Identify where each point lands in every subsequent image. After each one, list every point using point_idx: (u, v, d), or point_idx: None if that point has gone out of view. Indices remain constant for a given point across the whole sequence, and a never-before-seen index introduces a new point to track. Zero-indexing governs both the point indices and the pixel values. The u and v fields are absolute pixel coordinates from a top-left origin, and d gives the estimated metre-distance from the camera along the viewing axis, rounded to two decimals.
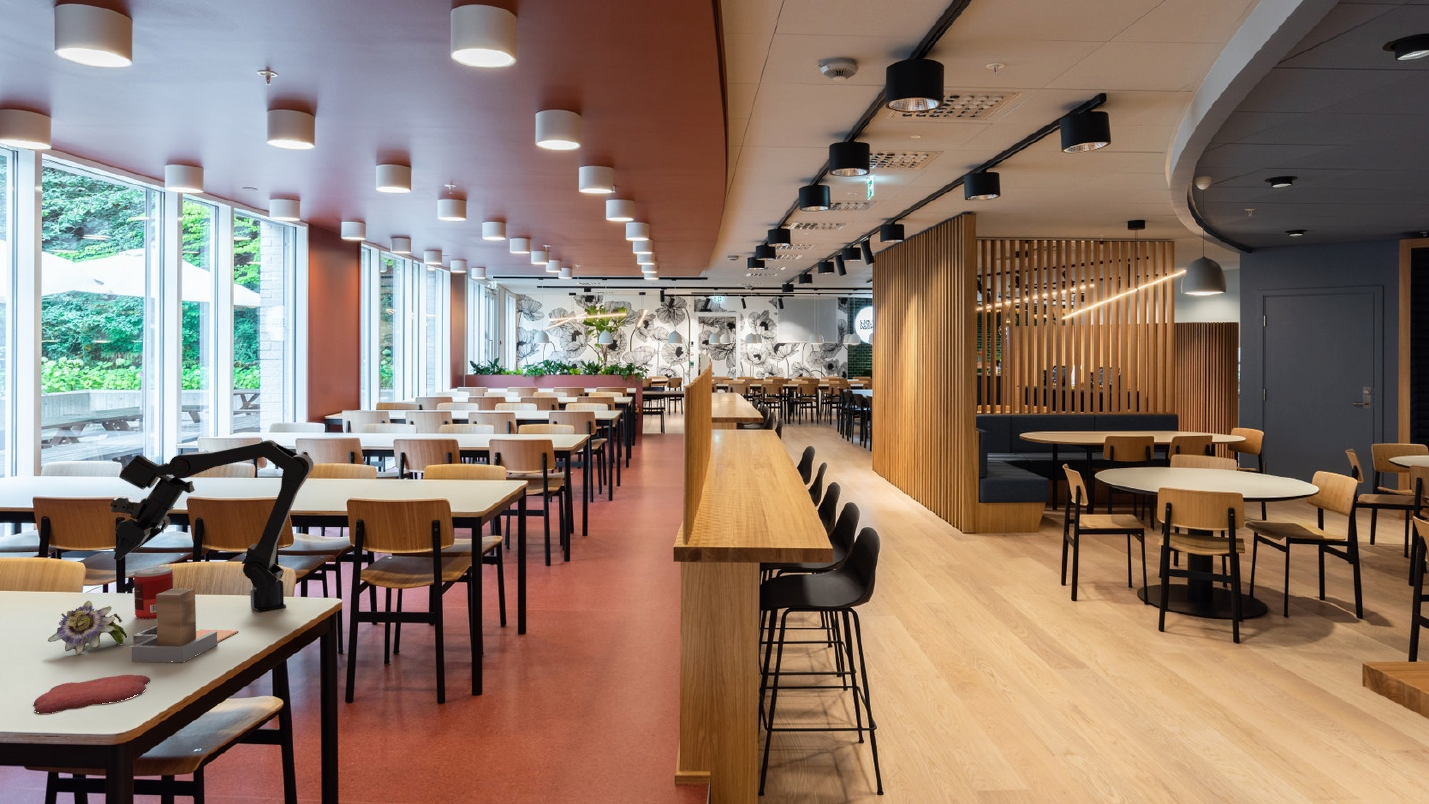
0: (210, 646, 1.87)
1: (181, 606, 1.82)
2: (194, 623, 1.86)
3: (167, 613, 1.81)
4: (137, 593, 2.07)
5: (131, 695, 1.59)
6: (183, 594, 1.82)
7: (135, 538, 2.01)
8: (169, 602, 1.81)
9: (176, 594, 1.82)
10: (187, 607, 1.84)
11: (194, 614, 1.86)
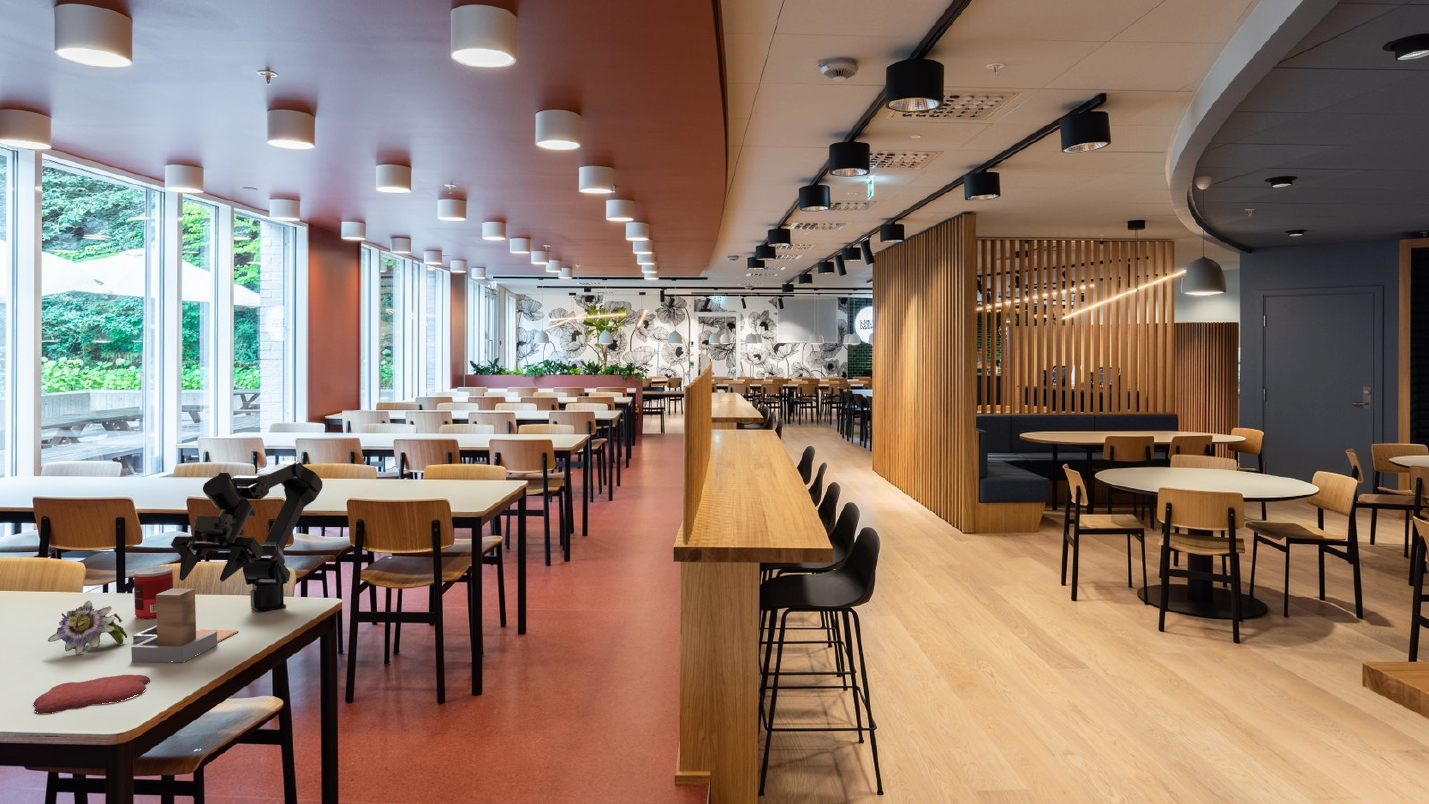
0: (210, 646, 1.87)
1: (181, 606, 1.82)
2: (194, 623, 1.86)
3: (167, 613, 1.81)
4: (137, 593, 2.07)
5: (131, 695, 1.59)
6: (183, 594, 1.82)
7: (259, 554, 1.98)
8: (169, 602, 1.81)
9: (176, 594, 1.82)
10: (187, 607, 1.84)
11: (194, 614, 1.86)
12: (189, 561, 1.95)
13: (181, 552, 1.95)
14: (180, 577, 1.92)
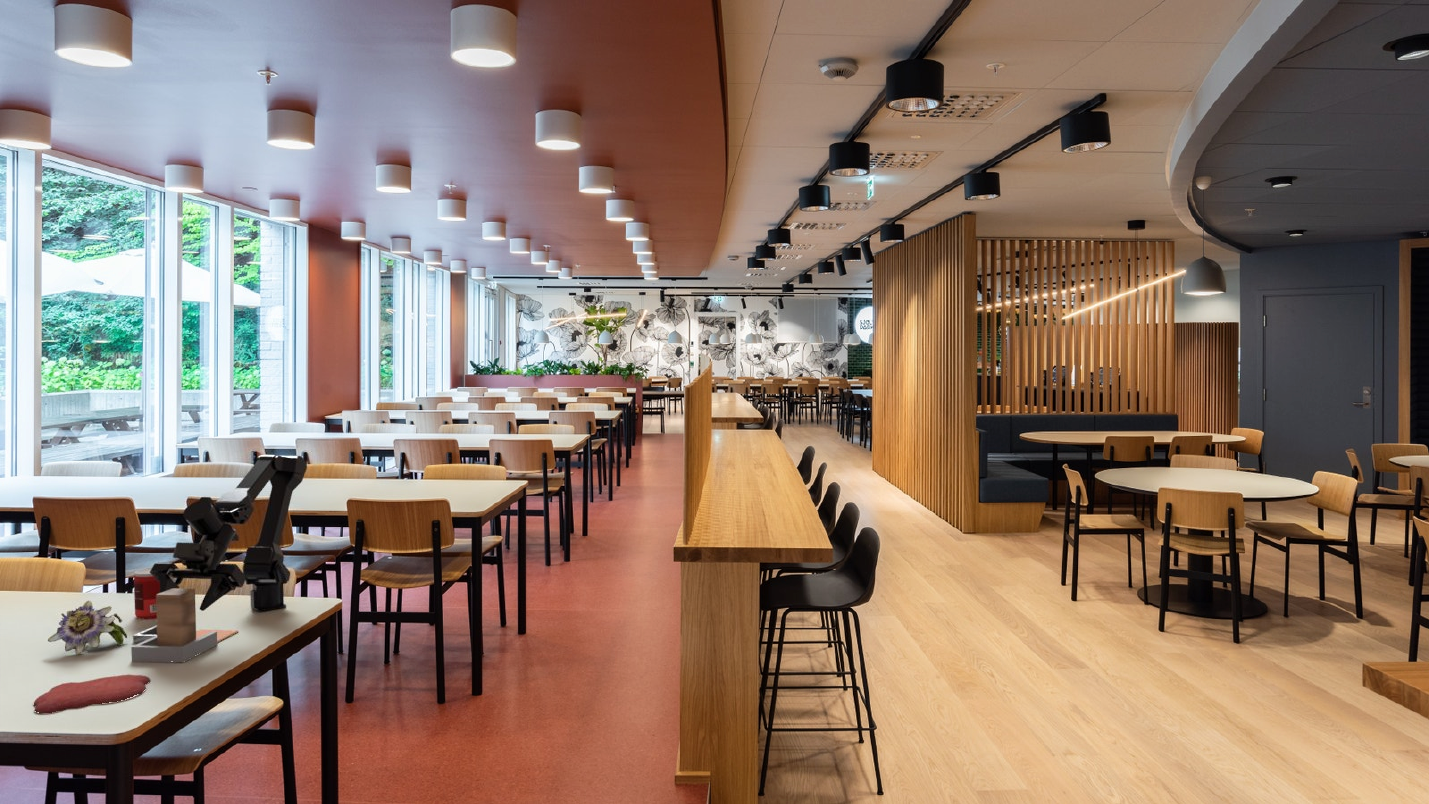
0: (210, 646, 1.87)
1: (181, 606, 1.82)
2: (194, 623, 1.86)
3: (167, 613, 1.81)
4: (137, 593, 2.07)
5: (131, 695, 1.59)
6: (183, 594, 1.82)
7: (241, 582, 1.91)
8: (169, 602, 1.81)
9: (176, 594, 1.82)
10: (187, 607, 1.84)
11: (194, 614, 1.86)
12: (169, 589, 1.89)
13: (160, 580, 1.88)
14: None
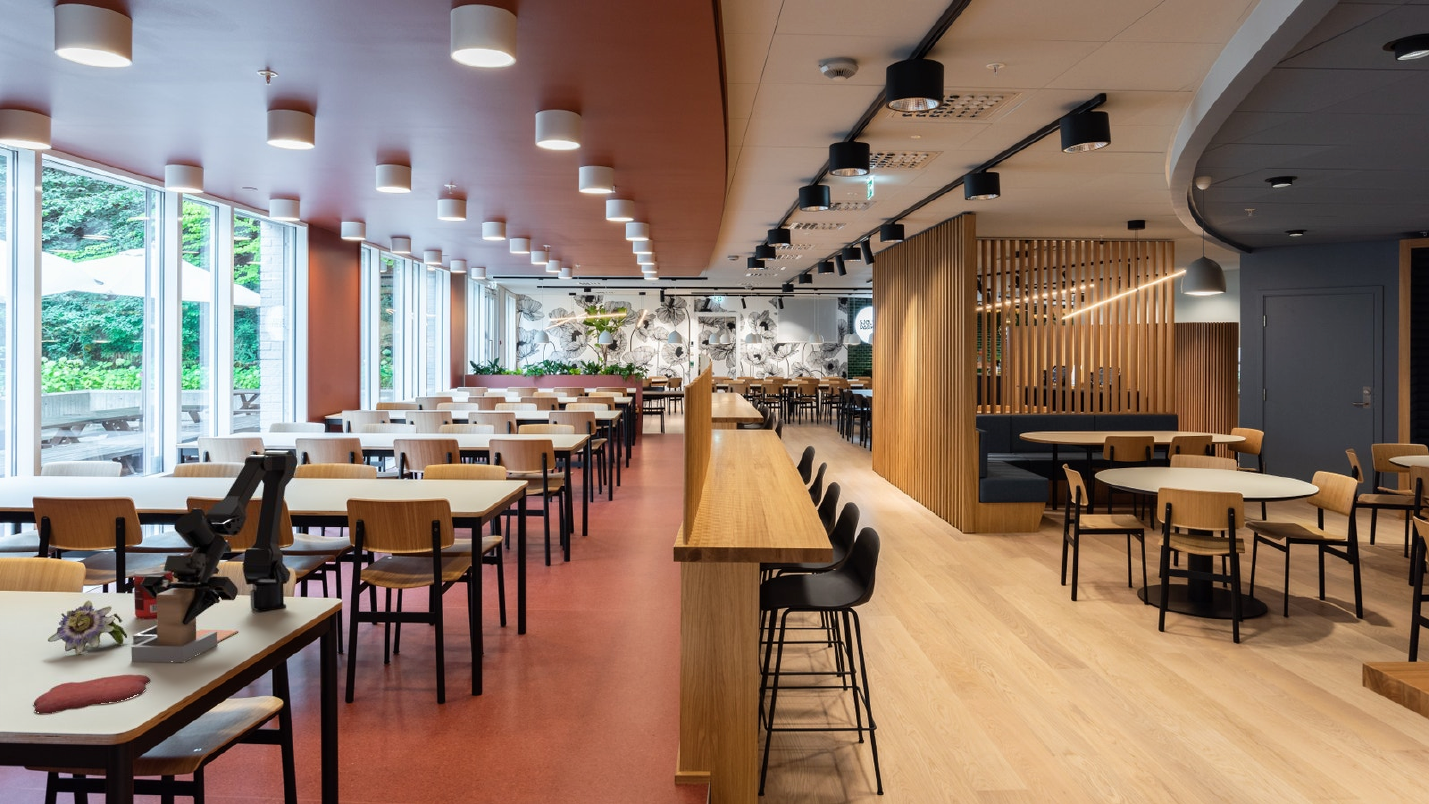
0: (210, 646, 1.87)
1: (181, 606, 1.82)
2: (194, 623, 1.86)
3: (167, 613, 1.81)
4: (137, 593, 2.07)
5: (131, 695, 1.59)
6: (183, 594, 1.82)
7: (234, 595, 1.88)
8: (169, 602, 1.81)
9: (176, 594, 1.82)
10: (187, 607, 1.84)
11: None
12: None
13: None
14: None
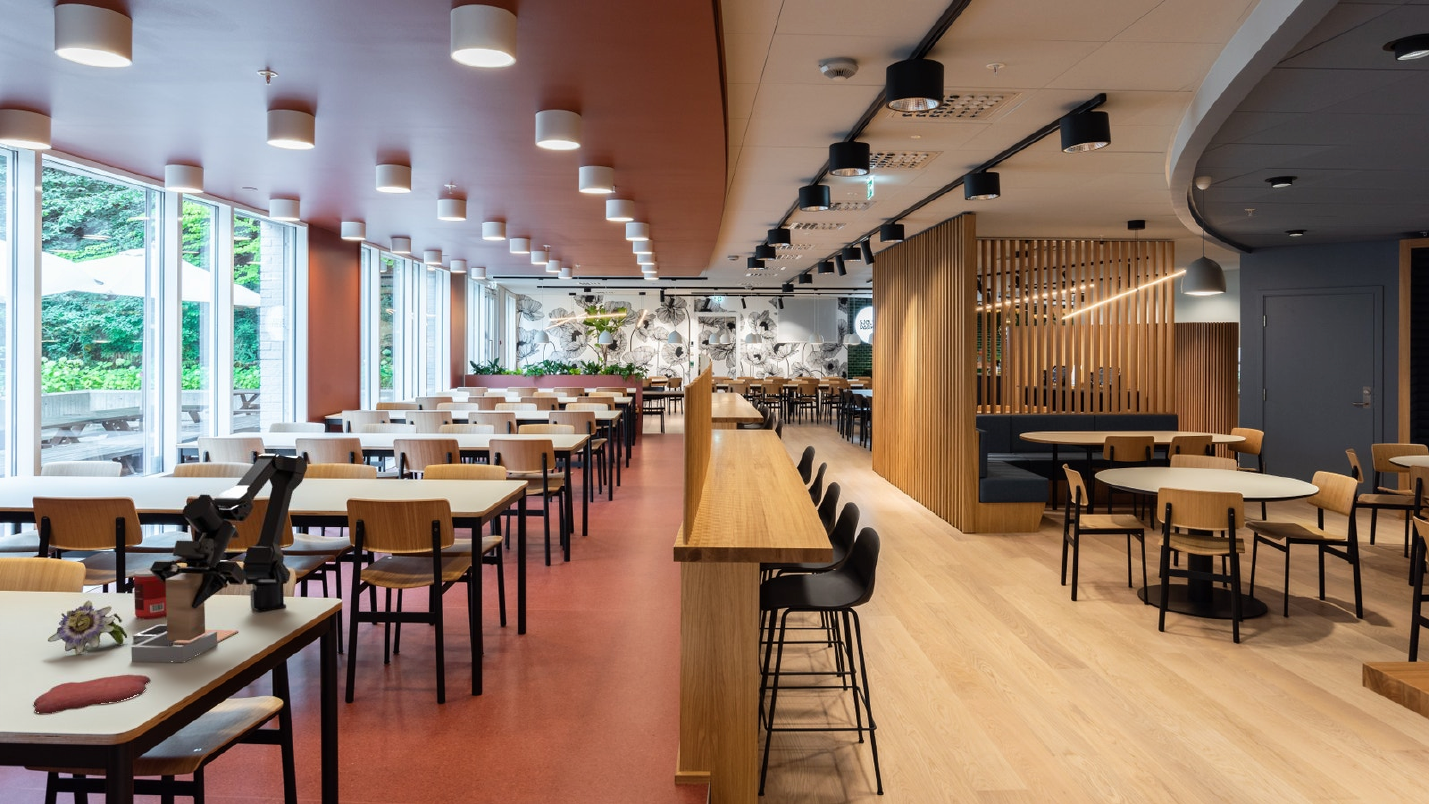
0: (210, 646, 1.87)
1: (190, 591, 1.84)
2: (203, 607, 1.89)
3: (176, 598, 1.84)
4: (137, 593, 2.07)
5: (131, 695, 1.59)
6: (192, 579, 1.85)
7: (242, 579, 1.91)
8: (178, 587, 1.84)
9: (185, 579, 1.84)
10: (196, 591, 1.86)
11: None
12: None
13: None
14: None
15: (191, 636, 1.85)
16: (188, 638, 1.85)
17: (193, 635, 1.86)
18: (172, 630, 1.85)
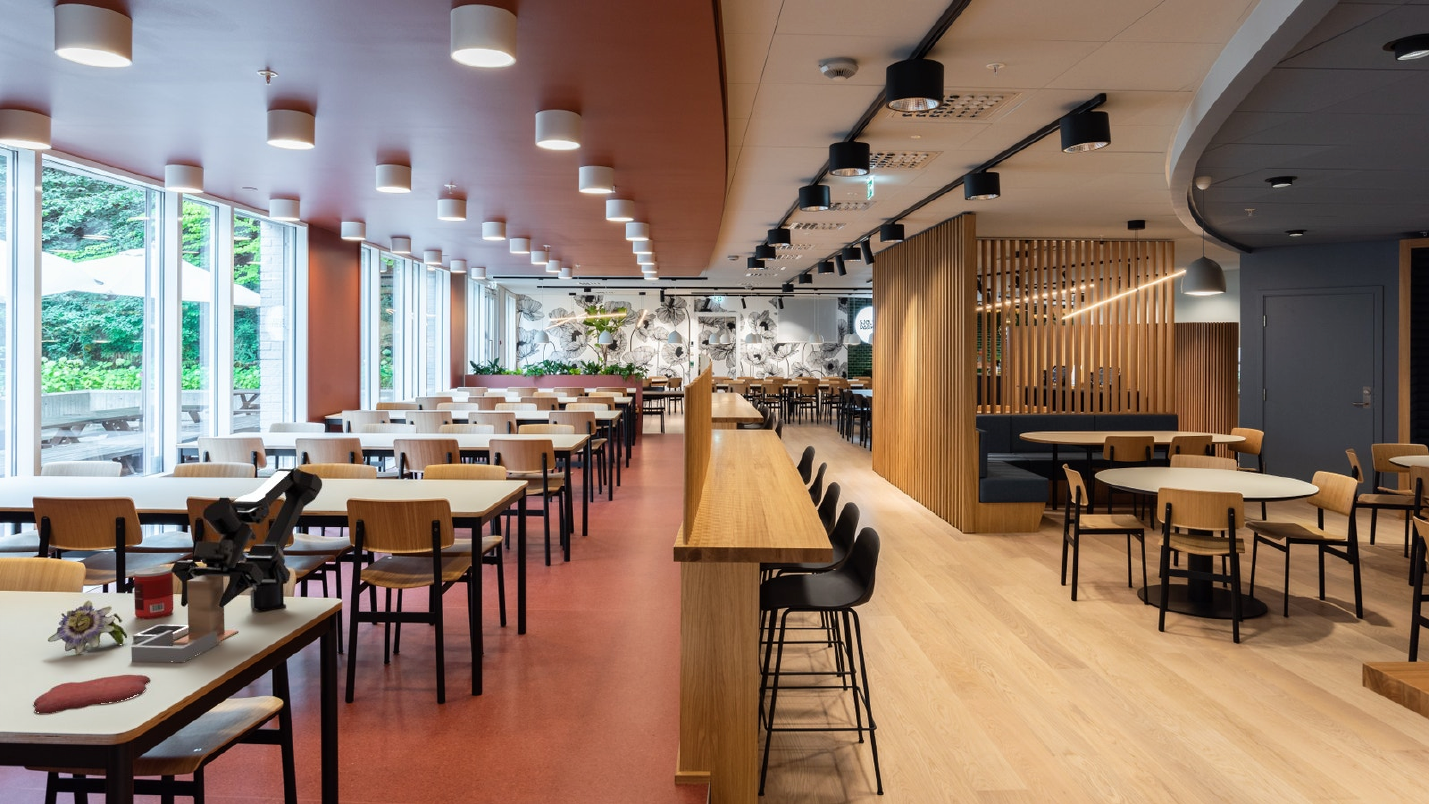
0: (210, 646, 1.87)
1: (211, 592, 1.91)
2: (222, 608, 1.95)
3: (197, 599, 1.91)
4: (137, 593, 2.07)
5: (131, 695, 1.59)
6: (212, 580, 1.92)
7: (260, 579, 1.98)
8: (199, 588, 1.91)
9: (206, 580, 1.91)
10: (216, 593, 1.93)
11: None
12: None
13: (182, 578, 1.95)
14: (182, 603, 1.92)
15: None
16: None
17: None
18: (193, 630, 1.91)
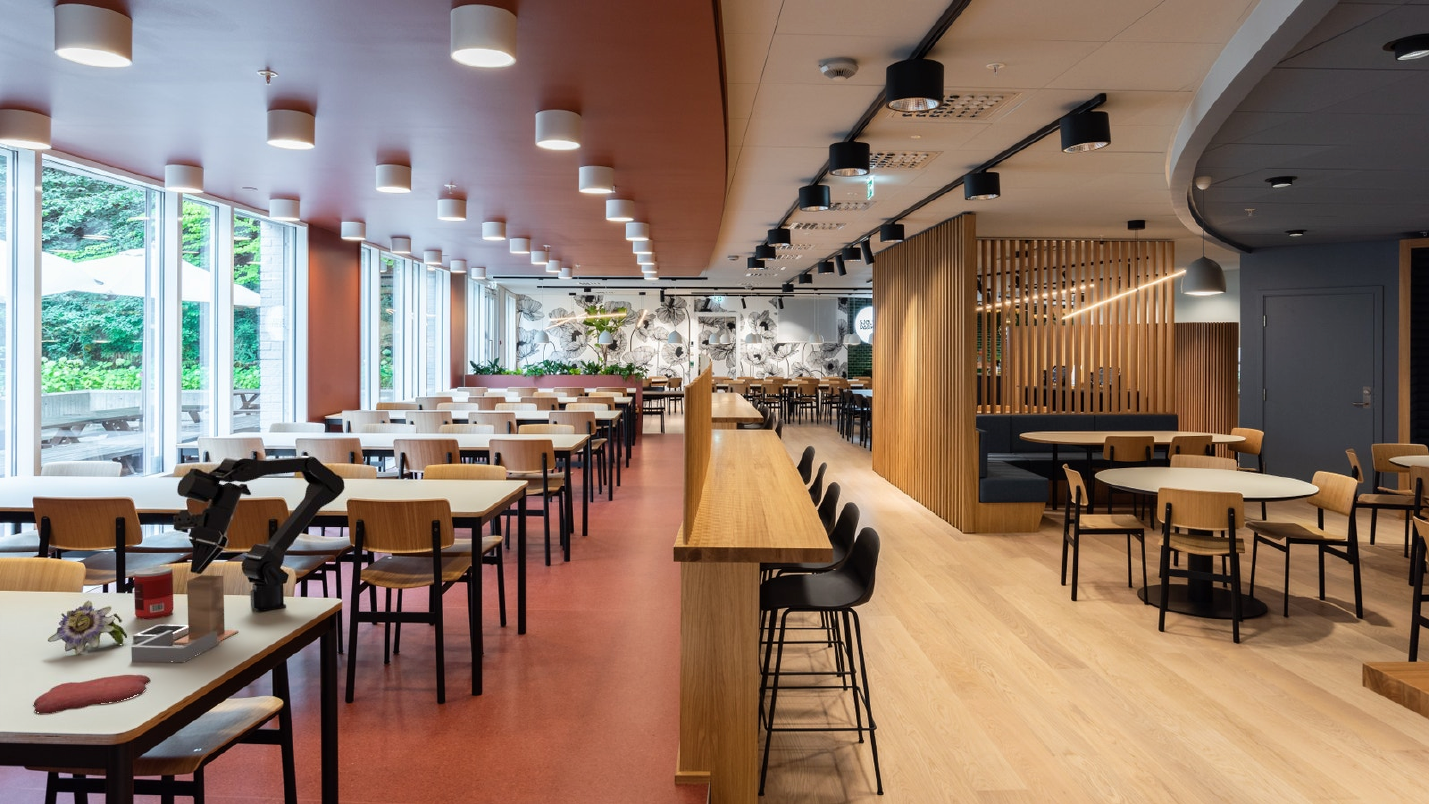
0: (210, 646, 1.87)
1: (211, 592, 1.91)
2: (222, 608, 1.95)
3: (197, 599, 1.91)
4: (137, 593, 2.07)
5: (131, 695, 1.59)
6: (212, 580, 1.92)
7: (212, 539, 1.97)
8: (199, 588, 1.91)
9: (206, 580, 1.91)
10: (216, 593, 1.93)
11: (222, 600, 1.95)
12: None
13: None
14: (196, 572, 2.06)
15: None
16: None
17: None
18: (193, 630, 1.91)
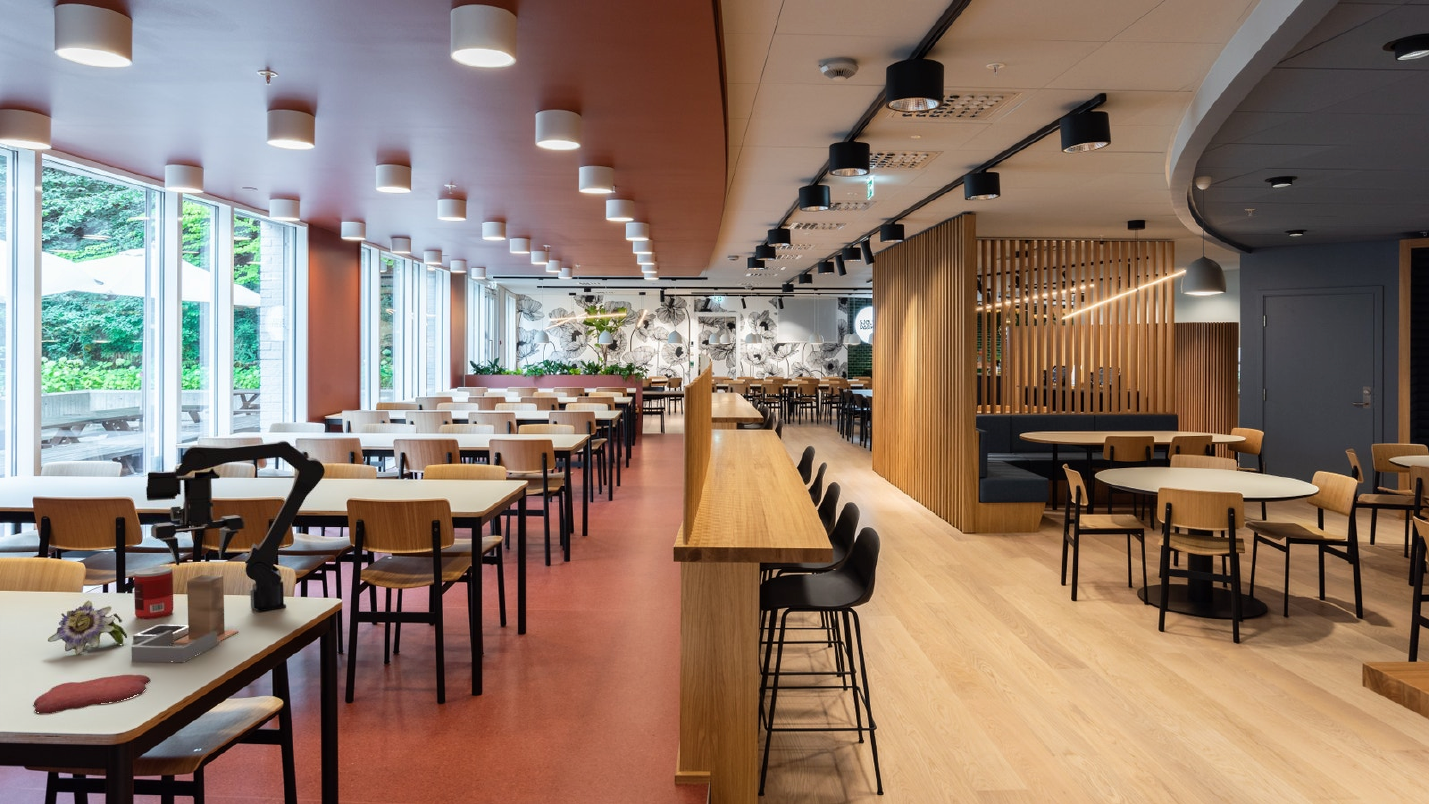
0: (210, 646, 1.87)
1: (211, 592, 1.91)
2: (222, 608, 1.95)
3: (197, 599, 1.91)
4: (137, 593, 2.07)
5: (131, 695, 1.59)
6: (212, 580, 1.92)
7: (155, 536, 2.02)
8: (199, 588, 1.91)
9: (206, 580, 1.91)
10: (216, 593, 1.93)
11: (222, 600, 1.95)
12: (221, 540, 2.13)
13: None
14: None
15: None
16: None
17: None
18: (193, 630, 1.91)
